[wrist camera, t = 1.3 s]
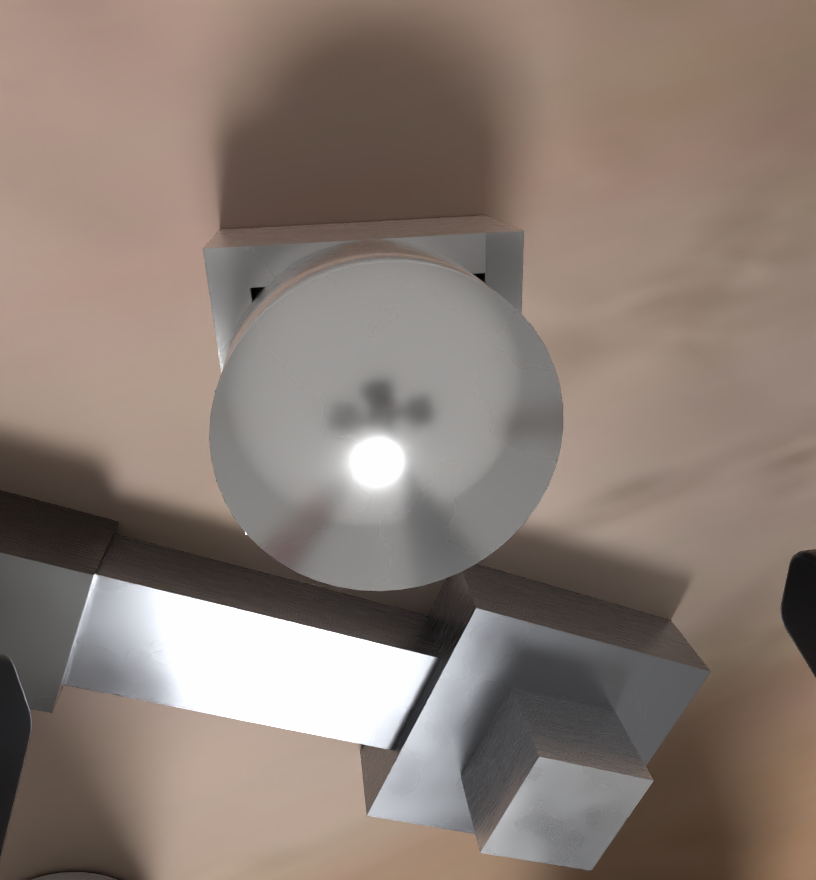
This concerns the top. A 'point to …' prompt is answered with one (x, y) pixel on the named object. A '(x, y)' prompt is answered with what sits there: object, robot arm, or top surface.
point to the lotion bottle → (74, 876)
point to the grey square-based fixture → (379, 395)
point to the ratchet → (367, 675)
